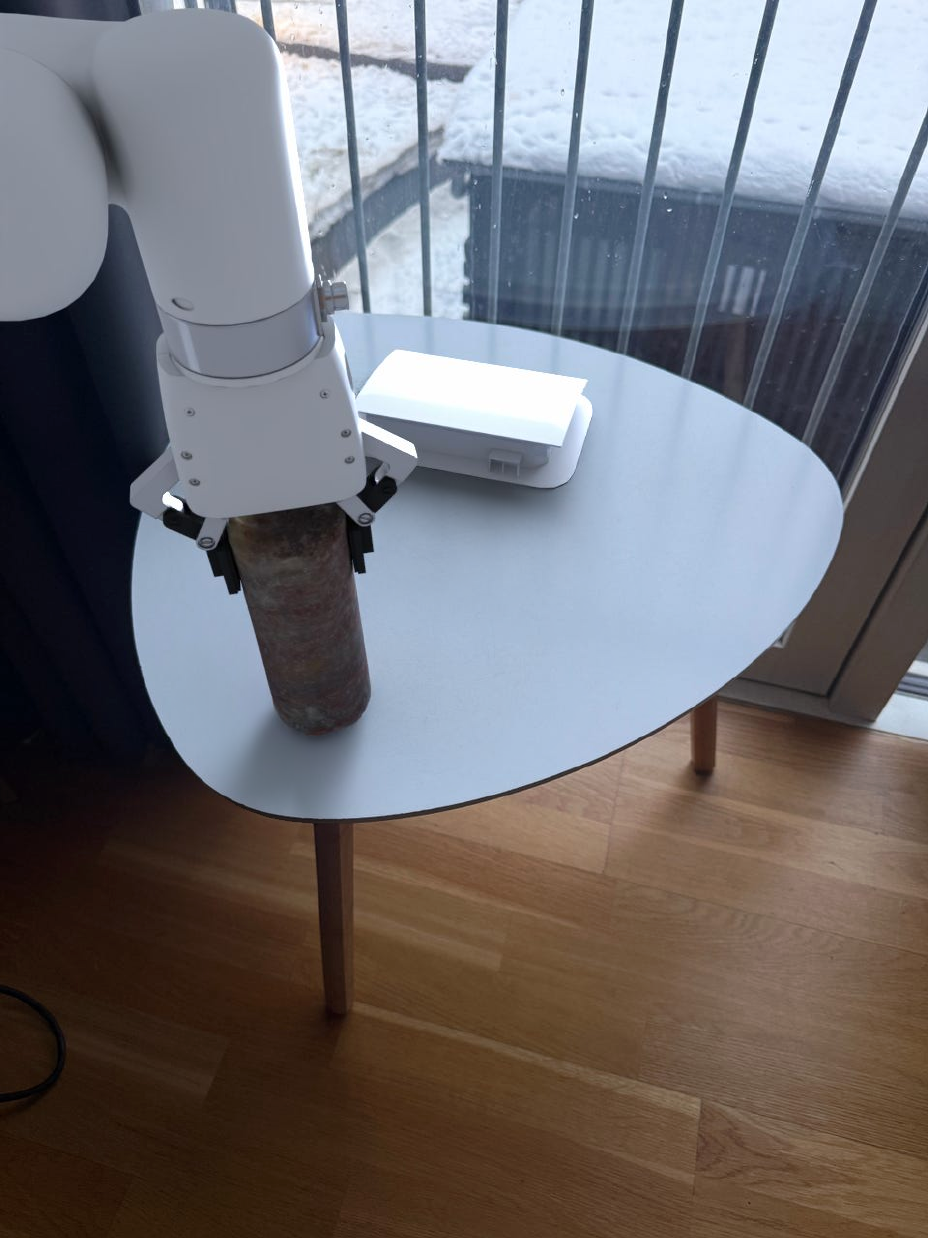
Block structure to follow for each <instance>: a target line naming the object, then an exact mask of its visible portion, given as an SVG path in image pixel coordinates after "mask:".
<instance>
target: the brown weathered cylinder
mask: <svg viewBox="0 0 928 1238" xmlns="http://www.w3.org/2000/svg"><path fill="white" fill-rule="evenodd" d="M227 531H228V537H229V543H230V546H231V549H232V553H233V557H234V560H235V564H236V568H237V572H238V575H239V578H240V583H241V590H242V592H243V593H242V594H243V597H244V600H245V603H246V606H247V610H248V615H249V617H250V620H251V624H252V629H253V631H254V635H255V638H256V643H257V646H258V650H259V654H260V658H261V662H262V666H263V670H264V674H265V677H266V682H267V685H268V688H269V689H268V690H269V692H270V696H271V699H272V704H273V707H274V710H275V712H276V713H277V715H278V716H279V718H280V719H281V721H282V722H283V723H284V724H286V725H287V726H288V727H290V729H292V730H293V731H295V732H296V733H298V734H301V735H303V736H312V737H321V736H324V735H328V734H333V733H336V732H339V731H342V730H344V729H346V728H349V727H350V726H352V725H353V724H356V723H357V722H358V721H359V719H360V718H361V717H362V716H363V714H364V713H365V712H366V710H367V707H368V706H369V702H370V701H371V697H372V685H371V677H370V669H369V663H368V656H367V650H366V649H367V648H366V644H365V638H364V631H363V624H362V618H361V612H360V604H359V597H358V591H357V585H356V579H355V572H354V566H353V561H352V555H351V548H350V541H349V533H348V527H347V519H346V512H345V511H344V510H343V509H342V508H341V507H340V506H339V505H338V504H337V503H336V502H330V503H325V504H319V505H313V506H306V507H300V508H293V509H287V510H280V511H273V512H267V513H260V514H253V515H245V516H238V517H229V519H228V528H227Z"/></svg>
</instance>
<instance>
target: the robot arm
mask: <svg viewBox="0 0 928 1238" xmlns="http://www.w3.org/2000/svg"><path fill="white" fill-rule="evenodd" d="M285 70H286V69H285V65H284V61H283V58H282V55H281V53H280V50H279V48H278V46H277V44H276V42H275V40H274V39H273V37H272V36H271V35H270V34H269V33H268V31H267V30H266V29H265V28H264V26H261V25H260V24H258V22H256V21H254V20H252V19H251V18H249V17H247V16H245V15H242V14H239V13H235V12H231V11H226V10H223V9H222V10H221V9H216V8H206V7H205V8H203V7H188V8H187V7H186V8H185V7H183V8H171V9H164V10H159V11H153V12H148V13H145V14H141V15H138V16H134V17H132V18H129V19H127V20H125V21H114V20H113V21H109V20H107V21H106V20H92V19H91V20H90V19H76V18H63V17H53V16H43V15H36V14H35V15H34V14H23V13H22V14H21V13H7V12H6V13H5V12H0V322H22V321H28V320H34V319H38V318H44V317H47V316H49V315H51V314H54V313H56V312H58V311H61V310H63V309H65V308H67V307H68V306H70V305H71V304H73V303H74V302H75V301H76V300H78V299H79V298H80V297H81V296H82V295H83V294H84V293H85V292H86V290H87V289H88V288H89V287H90V286H91V284H92V283H93V282H94V281H95V279H96V277H97V274H98V272H99V270H100V268H101V267H102V264H103V262H104V259H105V254H106V250H107V246H108V245H107V244H108V236H109V205H114V206H115V205H116V206H119V207H120V208H122V209H123V210H124V211H125V212H126V213H127V215H128V217H129V221H130V223H131V225H132V226H131V227H132V230H133V233H134V236H135V240H136V243H137V247H138V250H139V254H140V257H141V261H142V262H143V267H144V271H145V274H146V277H147V281H148V284H149V287H150V291H151V294H152V296H153V297H152V298H153V300H154V305H155V308H156V311H157V314H158V317H159V320H160V324H161V328H162V331H163V332H162V333H161V334H160V335H159V336H158V338H157V340H156V343H155V353H156V368H157V377H158V383H159V391H160V396H161V402H162V409H163V413H164V414H163V415H164V419H165V424H166V429H167V434H168V438H169V443H170V446H169V447H168V448H167V449H166V450H165V451H164V452H163V453H162V454H161V455H160V456H159V457H158V458H156V459H155V461H153V463H152V464H150V466H148V467H147V468H146V469H145V470H144V471H143V472H142V473H141V474H140V475H139V476H138V477H137V478H136V479H135V480H134V481H133V482H132V483H131V485H130V489H129V491H130V492H129V503H130V505H131V506H132V507H133V508H135V509H136V510H138V511H140V512H142V513H144V514H146V515H147V516H149V517H151V518H153V519H155V520H157V519H158V520H160V521H161V522H162V524H163V526H164V527H165V528H166V529H168V530H171V531H173V532H174V533H177V534H179V535H182V536H184V537H187V538H189V539H191V540H193V541H194V542H195V544H196V545H195V546H196V547H197V548H198V549H200V550H202V551H205V554H206V556H207V559H208V562H209V566H210V568H211V571H212V576H213V577H214V578H218V577H223V579H224V582H225V585H226V589H227V591H228V594H229V596H232V595H239V592H241V591H242V585H241V581H240V578H239V575H238V572H237V568H236V564H235V560H234V557H233V553H232V549H231V546H230V543H229V537H228V531H227V528H228V519H229V517H238V516H245V515H253V514H260V513H267V512H273V511H280V510H287V509H293V508H300V507H306V506H313V505H319V504H325V503H330V502H336V503H337V504H338V505H339V506H340V507H341V508H342V509H343V510H344V511H345V512H346V519H347V527H348V533H349V541H350V548H351V555H352V562H353V569H354V574H355V573H357V574H358V575H362V574H363V575H364V574H367V568H366V562H365V561H366V560H365V554H369V553H370V554H371V553H374V552H375V548H374V547H375V546H374V539H373V531H372V525H373V524H374V523H375V522H376V513H378V512H379V511H380V509H382V508H383V507H384V506H385V505H386V504H387V503H388V502H389V501H390V500H391V499H392V498H393V497H394V496H395V495H396V494H397V492H398V486H399V485H400V484H401V483H403V482H405V481H406V479H407V478H408V477H409V475H411V473H412V472H413V471H414V469H416V468H417V467H418V466H417V464H418V458H417V454H416V451H415V447H414V445H413V444H411V443H409V442H407V441H405V440H403V439H401V438H399V437H397V436H395V435H393V434H391V433H389V432H387V431H385V430H382V429H380V428H378V427H376V426H374V425H372V424H370V423H368V422H366V421H364V420H362V419H360V418H359V415H358V409H357V404H356V395H355V394H356V393H355V389H354V384H353V378H352V373H351V369H350V365H349V362H348V357H347V353H346V349H345V347H344V343H343V340H342V338H341V335H340V332H339V330H338V326H337V325H336V321H335V320H334V318H333V317H332V315H336V314H335V312H339V311H340V312H341V311H348V310H350V302H349V294H348V288H347V284H346V283H347V282H346V281H338V282H337V281H336V282H331V280H330V279H329V280H322V278H321V274H320V273H318V274H315V268H314V260H313V256H312V248H311V241H310V234H309V228H308V220H307V213H306V206H305V199H304V191H303V184H302V178H301V171H300V163H299V156H298V149H297V142H296V135H295V128H294V122H293V115H292V108H291V102H290V101H291V100H290V94H289V93H290V92H289V87H288V82H287V75H286V71H285ZM365 454H367V455H369V456H372V457H371V458H373V457H374V459H376V460H379V461H380V462H382V464H380V465H377V466H376V467H375V468H374V469H373V470H372V471H370V473H369V474H368V475H367V465H366V464H367V463H366V456H365ZM178 483H179V484H180V487H181V491H182V493H183V497H184V498H183V497H181V496H179V495H174V494H172V495H171V494H170V492H169V491H170V490H171V489H173V488H174V487H175V486H176V485H177V484H178Z"/></svg>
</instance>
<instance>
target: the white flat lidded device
mask: <svg viewBox="0 0 928 1238" xmlns="http://www.w3.org/2000/svg"><path fill="white" fill-rule="evenodd" d="M587 383H588V379H583V378H577V377H571V376H566V375H565V376H564V375H558V374H552V373H545V372H540V371H534V370H533V371H532V370H526V369H520V368H515V367H508V366H501V365H496V364H491V363H490V364H489V363H484V362H483V363H482V362H476V361H470V360H464V359H459V358H452V357H445V356H438V355H433V354H426V353H421V352H416V351H415V352H414V351H407V350H402V349H395V350H394V351H392V352H391V353H390V354H388V356H386V357H385V359H384V360H383V361H381V363H380V364H379V365H378V366H377V368H375V369H374V371H373V373H372V374H371V375H370V377H369V378H368V379H367V381H366V383H364V385H363V387H362V388H361V390H360V391H359V393H358V394H357V396H355V399H356V404H357V409H358V415H359V418H360V419H362V420H364V421H366V422H368V423H370V424H372V425H374V426H376V427H378V428H380V429H382V430H385V431H387V432H389V433H391V434H393V435H395V436H397V437H399V438H401V439H403V440H405V441H407V442H409V443H411V444H413V445H414V447H415V451H416V454H417V458H418V464H417V466H416V467H421V468H422V467H423V468H428V469H435V470H439V471H444V472H450V473H456V474H460V475H461V474H462V475H466V476H473V477H478V478H483V479H489V480H494V481H499V482H504V483H510V484H516V485H520V486H526V487H531V488H532V487H533V488H536V489H537V488H538V489H555V488H558V487H560V486H562V485H564V484H566V483H568V482H569V481H570V479H571V478H572V476H574V474H575V472H576V470H577V469H576V468H577V465H578V462H579V459H580V456H581V452H582V449H583V446H584V443H585V439H586V436H587V433H588V430H589V428H590V427H589V426H590V424H591V421H592V417H593V404H592V403H591V401H589V399H588V398H587V397H586V396H584V395H583V394H582V393H583V390H584V388H585V387H586V385H587ZM365 457H367V458H374V457H372V456H369V455H367V454H365ZM374 459H375V458H374Z"/></svg>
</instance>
